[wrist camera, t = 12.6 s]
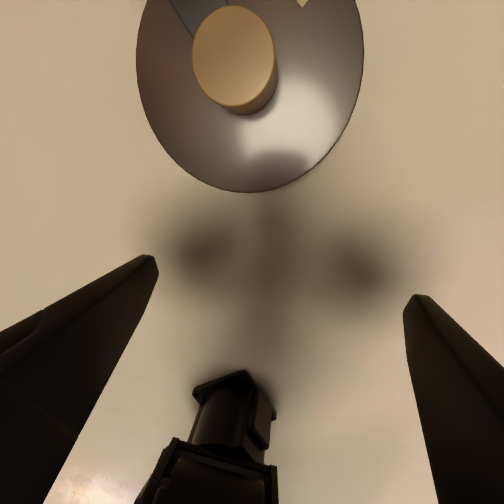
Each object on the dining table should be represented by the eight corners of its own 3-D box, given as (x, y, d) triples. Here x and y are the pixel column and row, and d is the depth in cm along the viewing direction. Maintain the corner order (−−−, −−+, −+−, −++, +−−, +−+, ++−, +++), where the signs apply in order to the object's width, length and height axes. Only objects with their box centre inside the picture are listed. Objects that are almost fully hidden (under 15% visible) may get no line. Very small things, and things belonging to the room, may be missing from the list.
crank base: (226, 215, 20) (213, 228, 17) (128, 59, 17) (90, 37, 14) (381, 124, 17) (403, 117, 13) (291, -90, 14) (291, -166, 11)
